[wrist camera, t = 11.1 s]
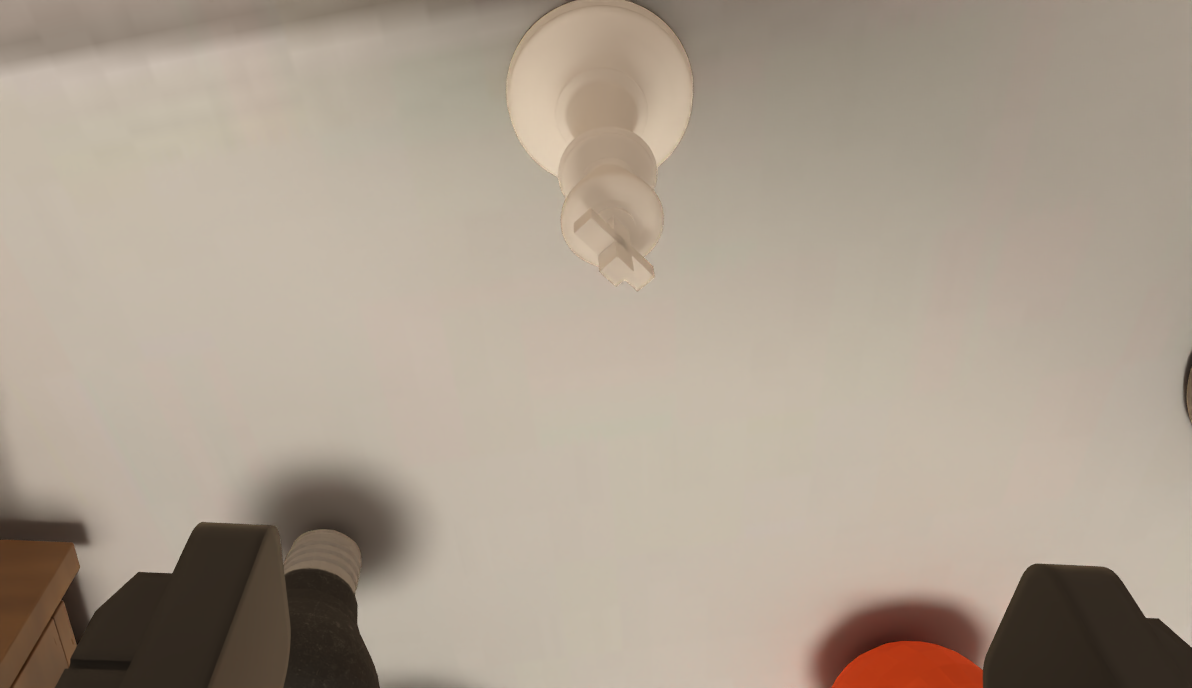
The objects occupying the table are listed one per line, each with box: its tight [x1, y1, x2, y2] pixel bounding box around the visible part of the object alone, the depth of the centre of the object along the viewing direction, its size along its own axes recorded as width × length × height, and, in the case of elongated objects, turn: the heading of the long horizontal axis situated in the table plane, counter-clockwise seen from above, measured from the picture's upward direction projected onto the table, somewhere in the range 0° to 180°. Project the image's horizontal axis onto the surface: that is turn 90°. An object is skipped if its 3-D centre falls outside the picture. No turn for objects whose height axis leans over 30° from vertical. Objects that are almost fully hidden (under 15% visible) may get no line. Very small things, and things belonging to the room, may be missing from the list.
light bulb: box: [283, 529, 380, 688], centre depth 29 cm, size 6×6×10 cm
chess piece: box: [506, 0, 693, 292], centre depth 21 cm, size 5×5×10 cm
